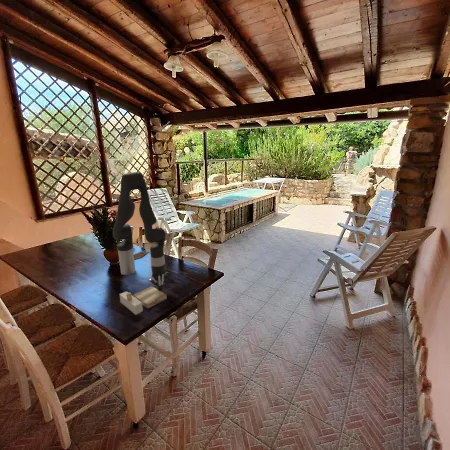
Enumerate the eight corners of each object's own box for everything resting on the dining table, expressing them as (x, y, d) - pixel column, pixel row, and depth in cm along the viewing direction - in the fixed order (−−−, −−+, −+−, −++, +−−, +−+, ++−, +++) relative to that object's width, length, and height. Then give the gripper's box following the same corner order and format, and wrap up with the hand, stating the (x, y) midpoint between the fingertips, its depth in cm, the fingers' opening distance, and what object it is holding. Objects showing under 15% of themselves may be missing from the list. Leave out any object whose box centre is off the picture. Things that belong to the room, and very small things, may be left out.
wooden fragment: (144, 250, 206) (144, 249, 206) (152, 254, 199) (152, 253, 199) (114, 261, 187) (114, 260, 187) (122, 265, 180) (122, 264, 180)
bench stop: (120, 302, 136) (118, 289, 134) (127, 299, 139) (126, 286, 137) (135, 314, 126) (133, 300, 123) (142, 311, 129) (141, 297, 126)
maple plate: (133, 299, 140) (133, 294, 139) (152, 290, 148) (151, 286, 147) (148, 309, 131) (147, 304, 130) (166, 299, 140) (166, 294, 139)
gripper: (164, 257, 147) (166, 283, 152) (143, 265, 137) (146, 292, 142) (171, 261, 142) (173, 288, 147) (151, 269, 132) (154, 297, 138)
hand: (160, 290), depth 145 cm, fingers closed
